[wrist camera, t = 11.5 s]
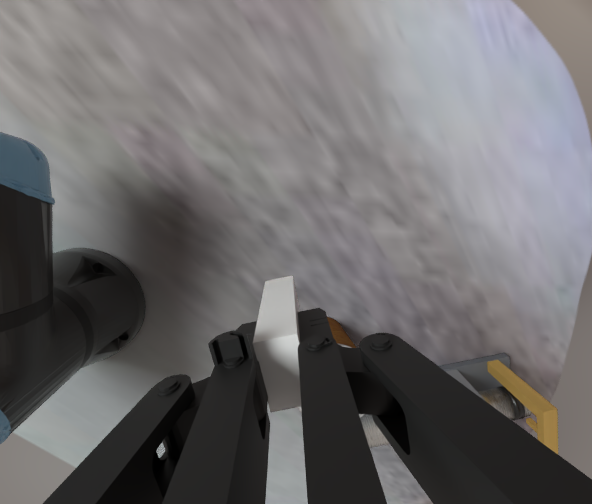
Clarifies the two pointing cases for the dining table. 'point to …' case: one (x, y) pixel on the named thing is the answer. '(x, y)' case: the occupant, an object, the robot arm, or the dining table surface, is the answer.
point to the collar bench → (479, 371)
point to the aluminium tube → (495, 397)
